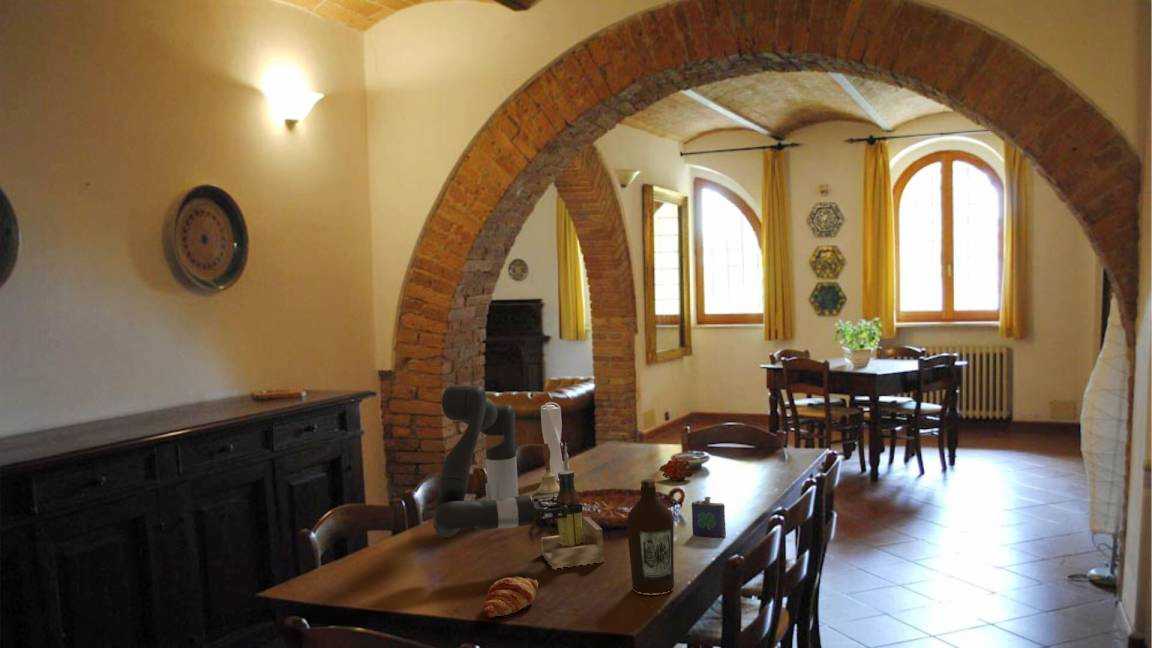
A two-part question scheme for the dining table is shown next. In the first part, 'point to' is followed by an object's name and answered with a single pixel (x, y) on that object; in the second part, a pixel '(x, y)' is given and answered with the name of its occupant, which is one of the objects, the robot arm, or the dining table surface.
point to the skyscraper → (553, 437)
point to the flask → (708, 519)
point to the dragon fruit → (677, 469)
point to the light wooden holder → (575, 548)
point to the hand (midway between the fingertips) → (578, 504)
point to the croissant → (509, 596)
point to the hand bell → (548, 475)
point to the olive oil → (651, 542)
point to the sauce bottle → (572, 523)
